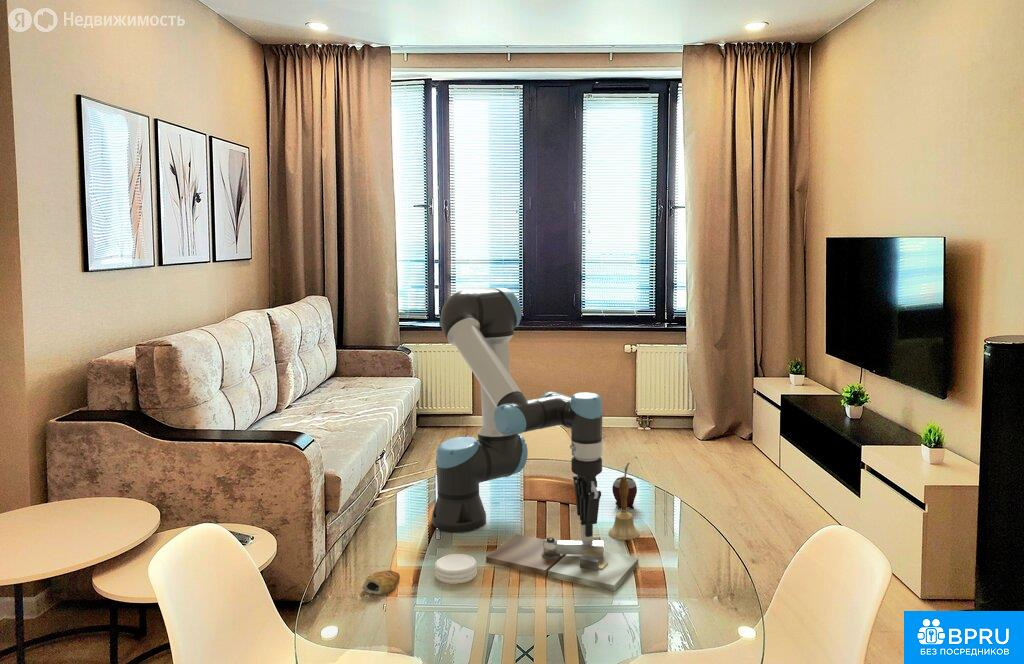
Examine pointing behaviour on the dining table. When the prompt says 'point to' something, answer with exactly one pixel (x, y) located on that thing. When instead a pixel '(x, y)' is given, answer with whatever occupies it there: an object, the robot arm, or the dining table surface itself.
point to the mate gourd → (631, 492)
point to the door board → (563, 563)
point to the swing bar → (572, 547)
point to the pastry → (381, 582)
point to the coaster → (455, 568)
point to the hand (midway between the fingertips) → (587, 546)
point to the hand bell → (623, 517)
